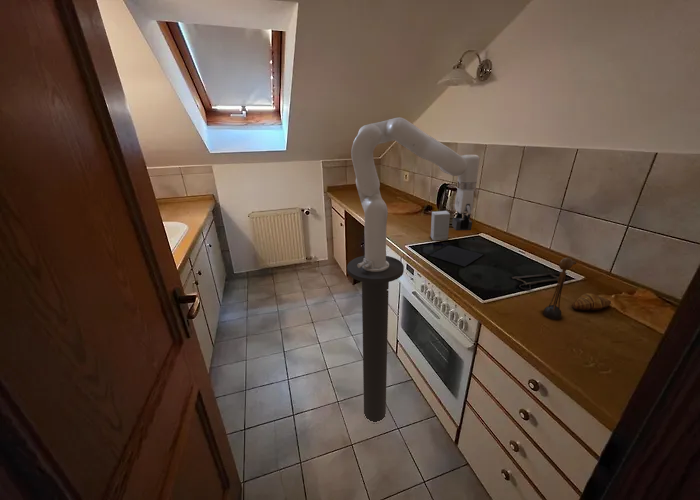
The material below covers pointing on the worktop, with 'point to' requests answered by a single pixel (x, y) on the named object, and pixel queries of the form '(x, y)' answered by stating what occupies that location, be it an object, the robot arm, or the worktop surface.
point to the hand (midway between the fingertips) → (461, 225)
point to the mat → (456, 255)
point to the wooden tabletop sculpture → (558, 290)
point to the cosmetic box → (440, 225)
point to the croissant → (590, 302)
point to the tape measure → (457, 224)
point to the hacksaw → (538, 281)
